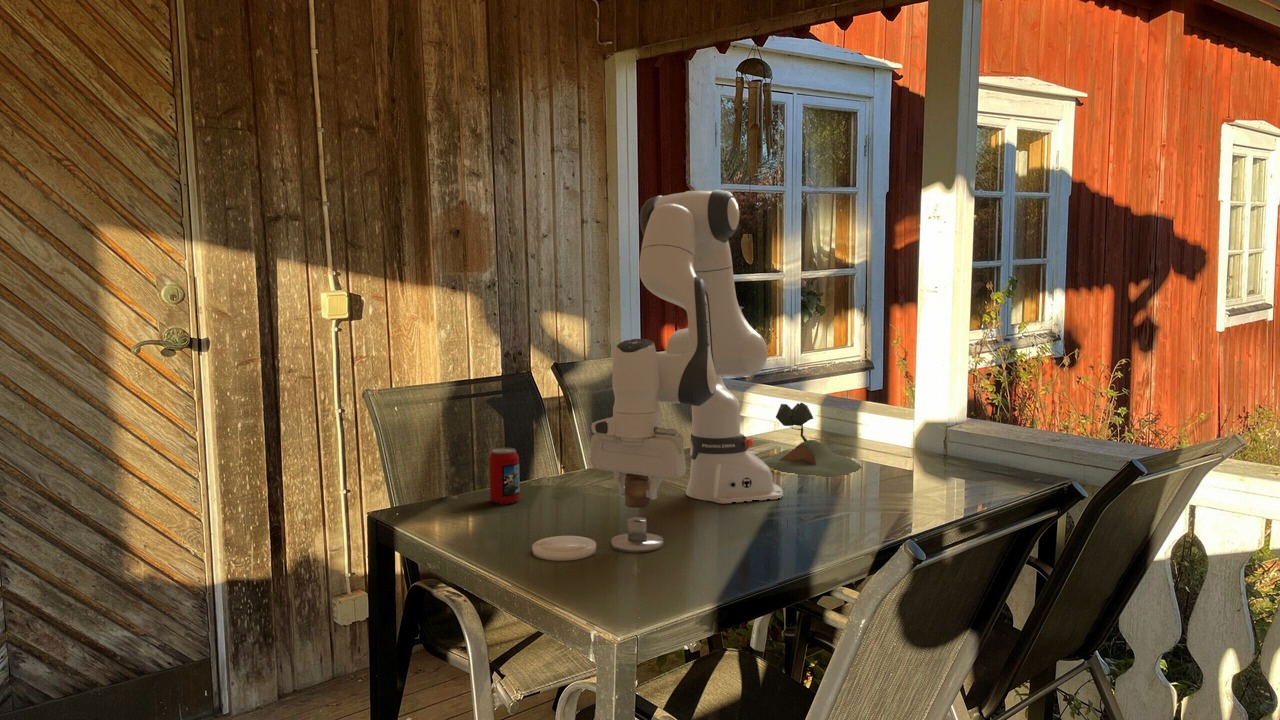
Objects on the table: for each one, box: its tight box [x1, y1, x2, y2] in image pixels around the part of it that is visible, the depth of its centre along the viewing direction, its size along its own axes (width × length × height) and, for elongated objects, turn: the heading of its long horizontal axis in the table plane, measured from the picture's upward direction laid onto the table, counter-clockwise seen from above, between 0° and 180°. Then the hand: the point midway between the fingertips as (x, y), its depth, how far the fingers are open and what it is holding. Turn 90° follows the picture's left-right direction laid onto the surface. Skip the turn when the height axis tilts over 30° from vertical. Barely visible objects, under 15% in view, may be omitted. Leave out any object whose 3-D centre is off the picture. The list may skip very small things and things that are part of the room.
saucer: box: [532, 535, 597, 562], centre depth 180 cm, size 12×12×1 cm
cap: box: [624, 473, 651, 509], centre depth 182 cm, size 5×5×6 cm
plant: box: [763, 402, 863, 477], centre depth 254 cm, size 29×35×18 cm
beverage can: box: [488, 447, 521, 505], centre depth 218 cm, size 7×7×12 cm
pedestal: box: [610, 516, 664, 554], centre depth 183 cm, size 10×10×5 cm
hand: (637, 496), depth 182 cm, fingers closed on cap, 5 cm apart
